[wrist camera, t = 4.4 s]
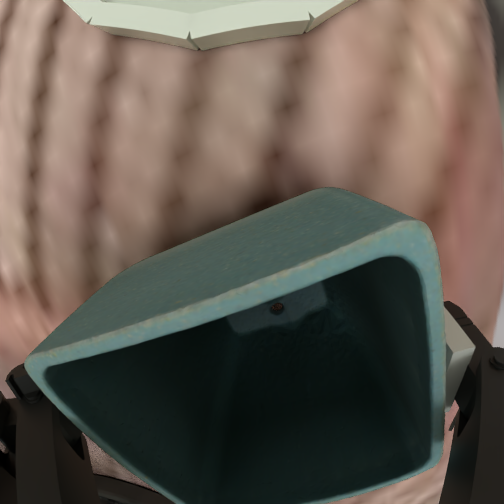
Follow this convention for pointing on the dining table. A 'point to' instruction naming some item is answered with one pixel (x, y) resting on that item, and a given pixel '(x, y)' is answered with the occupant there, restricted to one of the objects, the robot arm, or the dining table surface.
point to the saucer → (206, 19)
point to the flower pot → (265, 357)
